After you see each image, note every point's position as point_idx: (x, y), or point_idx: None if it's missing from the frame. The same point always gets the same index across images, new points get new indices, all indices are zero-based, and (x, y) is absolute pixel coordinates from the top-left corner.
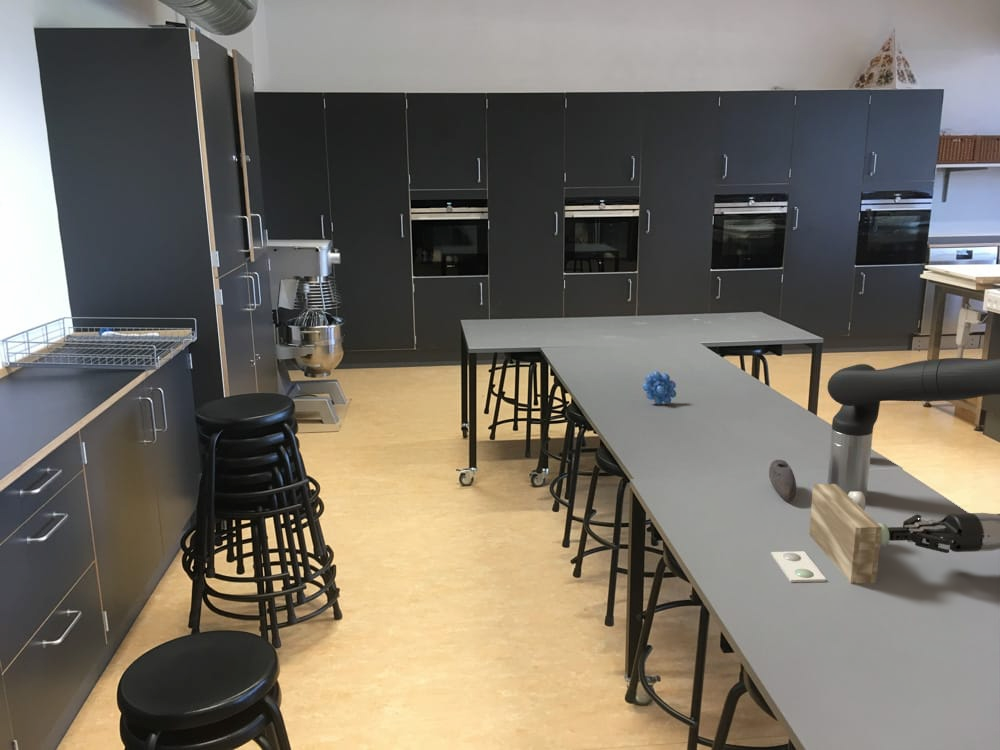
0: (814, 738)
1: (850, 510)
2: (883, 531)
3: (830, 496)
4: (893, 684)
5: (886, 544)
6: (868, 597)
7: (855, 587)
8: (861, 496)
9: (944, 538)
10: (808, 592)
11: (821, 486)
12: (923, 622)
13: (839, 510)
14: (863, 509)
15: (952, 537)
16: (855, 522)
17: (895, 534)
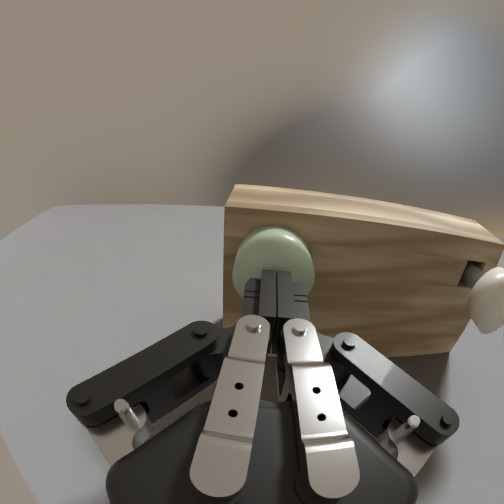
0: (51, 208)
1: (352, 205)
2: (245, 242)
3: (428, 213)
4: (35, 249)
5: (241, 294)
6: (172, 313)
7: (214, 312)
8: (497, 282)
9: (102, 403)
10: (216, 259)
11: (473, 224)
12: (66, 338)
13: (345, 196)
14: (477, 320)
15: (111, 474)
16: (267, 189)
17: (245, 284)
